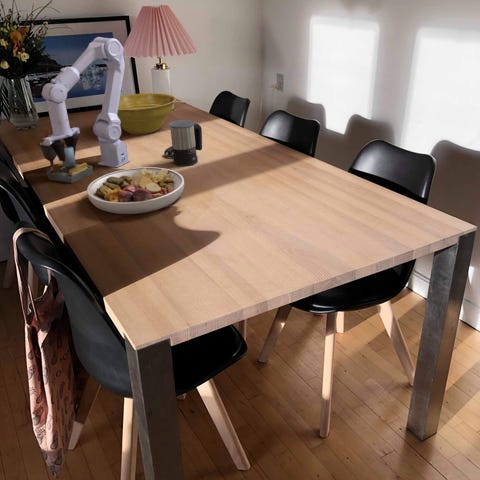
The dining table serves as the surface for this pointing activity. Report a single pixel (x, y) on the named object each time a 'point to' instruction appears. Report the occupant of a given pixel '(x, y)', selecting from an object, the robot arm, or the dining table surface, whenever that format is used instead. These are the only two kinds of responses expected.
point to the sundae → (47, 151)
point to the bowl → (136, 190)
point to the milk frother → (184, 142)
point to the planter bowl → (144, 112)
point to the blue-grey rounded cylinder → (69, 157)
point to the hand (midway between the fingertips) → (67, 158)
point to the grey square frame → (74, 175)
